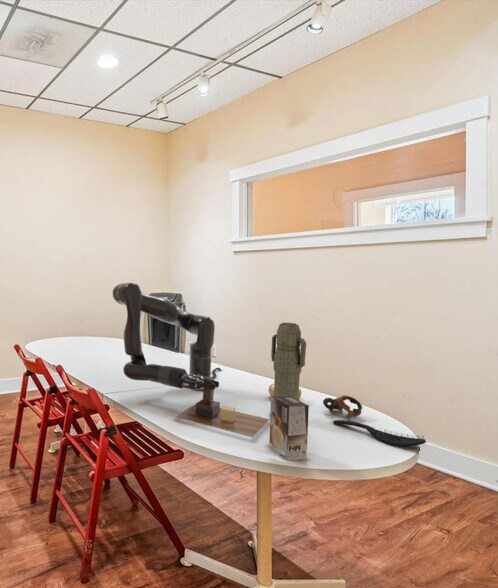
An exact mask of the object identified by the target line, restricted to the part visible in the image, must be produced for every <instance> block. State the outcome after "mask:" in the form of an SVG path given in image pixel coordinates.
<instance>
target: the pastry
mask: <svg viewBox="0 0 498 588" xmlns="http://www.w3.org/2000/svg"><path fill="white" fill-rule="evenodd" d="M268 394H269V397H270V398H271V397H272V396H273V395H274V383H271V384H270V385H269V386H268ZM301 397H302V389H300V388H299V400H300V399H301Z"/></svg>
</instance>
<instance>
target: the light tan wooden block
mask: <svg viewBox="0 0 498 588" xmlns="http://www.w3.org/2000/svg"><path fill="white" fill-rule="evenodd" d="M221 408H222V409H221V420H224V421H229V422H233V421H234V419H235V411H236V407H232V406H228V405H222V407H221Z"/></svg>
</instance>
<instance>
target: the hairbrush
mask: <svg viewBox="0 0 498 588" xmlns="http://www.w3.org/2000/svg"><path fill="white" fill-rule="evenodd" d="M333 424H335V425H344V426H351V427H352V426H353V427H358V428H360V429H364V430H366V431H367V432H368V433H369V434H370V435H371V436H373V437H374V438H375V439H376V440H378V441H380V442H382V443H384V444H388V445H390V446H396V447H415V446H419V445H424V444H426V443H427V440H426V439H424V437H425V436H424V435H422V434H420V436H419V435H416V434H415V435H414V436H413V434H412V435H411V434H410V435H409V434H408V433H406V434H404V433H398V431H392V432H389V430H387V429H384V431H383V428H382V429H381V428H379V429H376V428H375V427H372V426H370V425H368V424H365V423H361V422H358V421H354V420H350V419H334V420H333ZM393 433H394V434H393Z"/></svg>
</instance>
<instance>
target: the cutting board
mask: <svg viewBox="0 0 498 588" xmlns="http://www.w3.org/2000/svg"><path fill="white" fill-rule="evenodd" d="M221 409H222V407H220V409H219V413H218V414H217V415H216V416H214V417H213V418H210V417H206V416H202V415H198V414H196V403H195V404H193V405H192V406H190V407H188V408H187V409H185V410H184V411H181V413H179V414H177V415H176V416H175V418H179V419H182V420H186V421H189V422H194V423H197V424H202V425H205V426H209V427H212V428H216V429H220V430H223V431H227V432H230V433H234V434H238V435H242V436H246V437H250V438H254V437H255V435H257V433H258V432H259V431H260V430H262V428H263V427H264V426H265V425H266V424H267V423H268V422H269V421H270V418H265V417H261V416H257V415H253V414H249V413H244V412H240V411H236V410H235V419H234V421H233V422H229V421H224V420H221Z"/></svg>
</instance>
